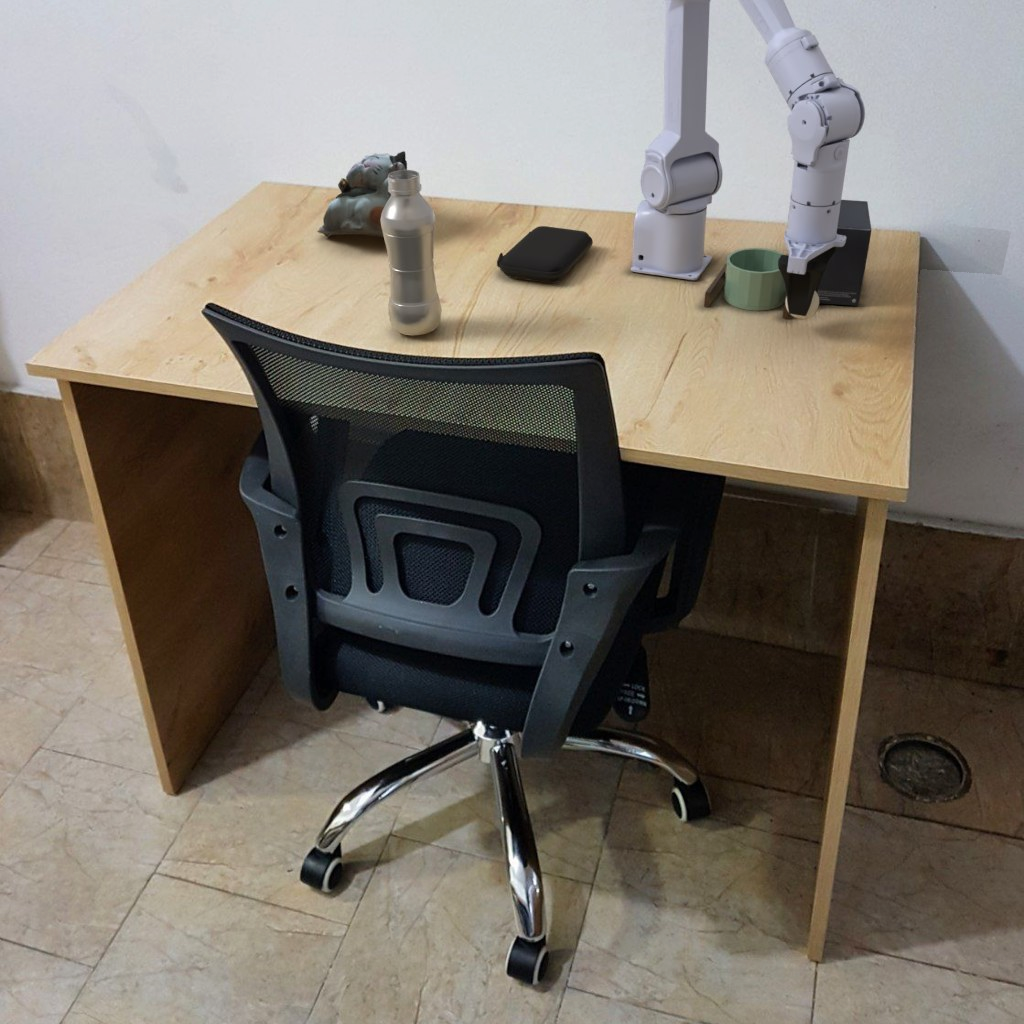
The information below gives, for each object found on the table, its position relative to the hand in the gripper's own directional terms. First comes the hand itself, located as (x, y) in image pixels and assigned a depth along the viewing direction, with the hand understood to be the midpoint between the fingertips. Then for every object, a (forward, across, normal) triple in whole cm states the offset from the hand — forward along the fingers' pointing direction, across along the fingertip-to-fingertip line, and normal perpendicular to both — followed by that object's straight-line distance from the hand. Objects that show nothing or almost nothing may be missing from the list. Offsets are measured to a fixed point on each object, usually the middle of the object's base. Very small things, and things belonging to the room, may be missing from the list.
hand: (801, 306), depth 138 cm
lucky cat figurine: (+4, +10, +67) cm, 68 cm away
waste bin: (+3, +8, +7) cm, 11 cm away
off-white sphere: (-1, 0, 0) cm, 1 cm away
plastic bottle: (+4, -16, +45) cm, 48 cm away
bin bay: (+3, +8, +7) cm, 11 cm away
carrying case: (+4, +9, +38) cm, 39 cm away
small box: (+4, +14, -2) cm, 15 cm away
